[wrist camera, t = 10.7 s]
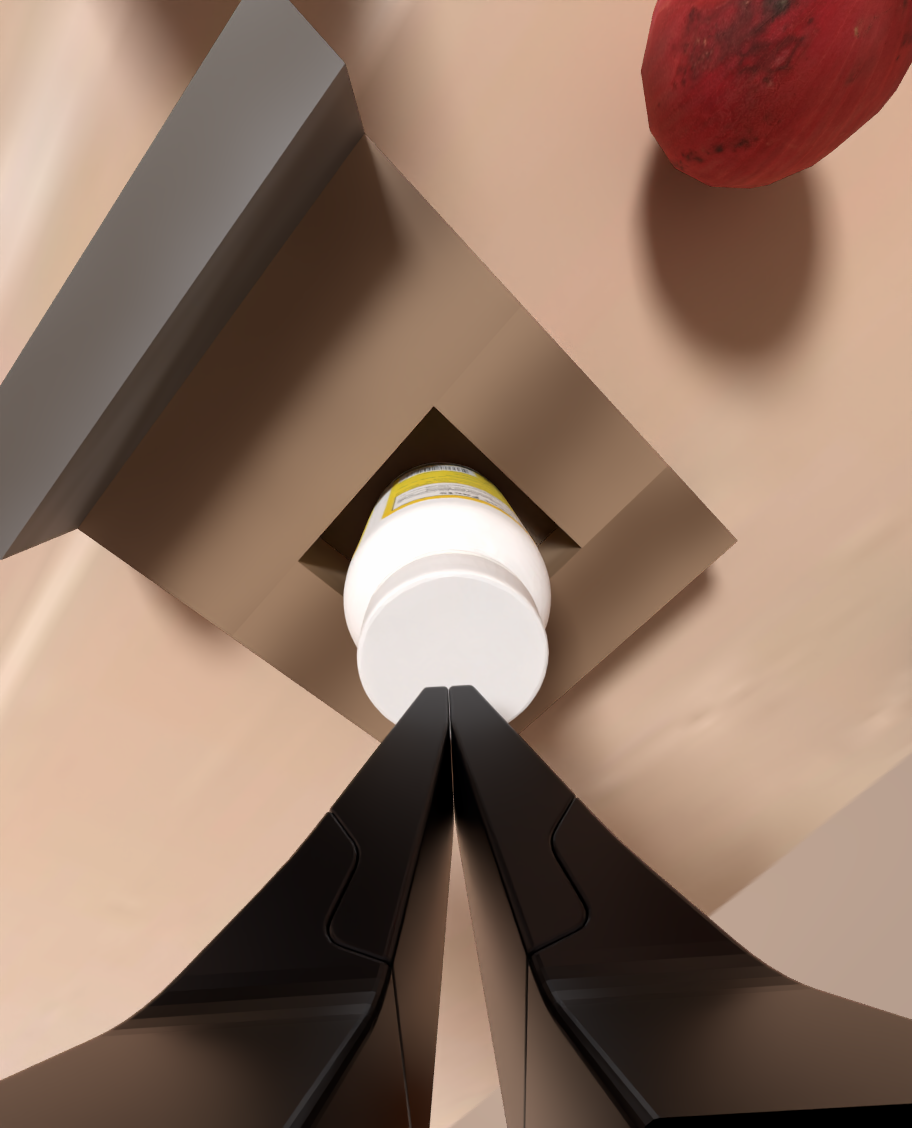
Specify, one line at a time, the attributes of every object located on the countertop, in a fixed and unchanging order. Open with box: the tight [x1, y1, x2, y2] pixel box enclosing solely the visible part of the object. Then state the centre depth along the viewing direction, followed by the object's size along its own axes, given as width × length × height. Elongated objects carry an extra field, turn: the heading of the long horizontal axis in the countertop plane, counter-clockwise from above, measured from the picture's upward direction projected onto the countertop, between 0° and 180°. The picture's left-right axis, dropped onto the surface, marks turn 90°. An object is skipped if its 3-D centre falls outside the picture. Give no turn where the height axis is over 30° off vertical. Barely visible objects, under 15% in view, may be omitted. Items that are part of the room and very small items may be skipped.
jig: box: [0, 0, 737, 780], centre depth 16 cm, size 18×14×6 cm
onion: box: [641, 0, 912, 188], centre depth 12 cm, size 6×6×8 cm
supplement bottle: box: [344, 462, 551, 735], centre depth 15 cm, size 5×5×10 cm
